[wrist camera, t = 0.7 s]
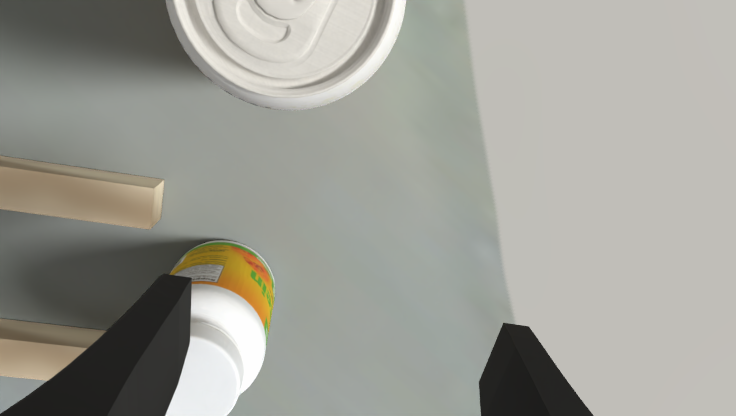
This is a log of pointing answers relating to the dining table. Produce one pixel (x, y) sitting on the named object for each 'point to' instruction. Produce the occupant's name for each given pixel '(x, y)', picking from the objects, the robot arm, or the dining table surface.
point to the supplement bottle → (223, 326)
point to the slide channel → (74, 201)
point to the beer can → (287, 46)
